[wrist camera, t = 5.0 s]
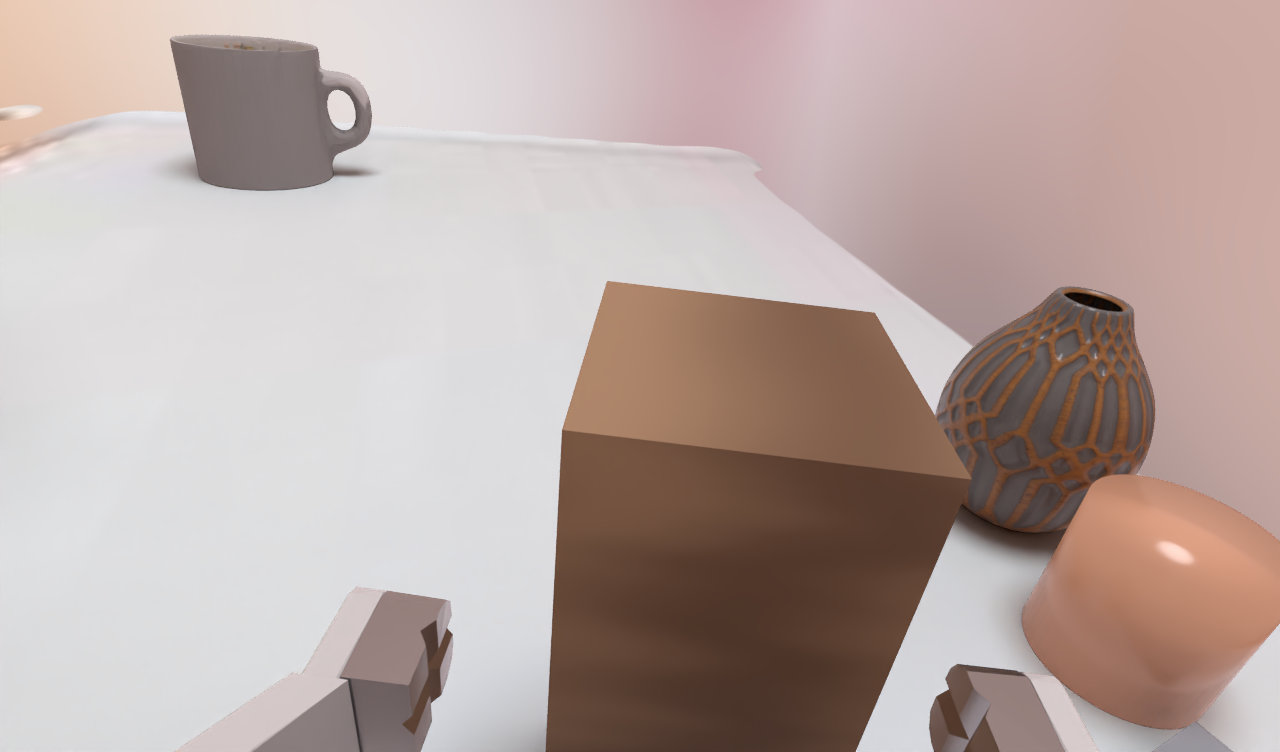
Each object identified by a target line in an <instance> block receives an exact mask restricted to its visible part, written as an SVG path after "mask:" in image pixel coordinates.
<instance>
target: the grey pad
mask: <svg viewBox="0 0 1280 752" xmlns="http://www.w3.org/2000/svg"><path fill="white" fill-rule="evenodd" d="M1153 752H1233V751H1231V750H1230V749H1229V748H1228V747H1227V746H1225V745H1224V744H1223V743H1222V742H1220V741H1219V740H1218V739H1217V738H1215V737H1214V736H1213V735H1212V734H1210V733H1209V732H1208V731H1207V730H1205V729H1204V728H1203V727H1202V726H1200V725H1199V724H1198V723H1197V722H1194V723H1192V724H1191V725H1189V726H1188V727H1187V728H1185V729H1184V730H1182V731H1181V732H1179V733H1178V734H1177V735H1175V736H1174V737H1172V738H1171V739H1170V740H1168V741H1167V742H1165V743H1164V744H1163V745H1161V746H1160V747H1158V748H1157V749H1155V750H1154V751H1153Z"/></svg>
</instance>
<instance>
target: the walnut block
mask: <svg viewBox="0 0 1280 752" xmlns="http://www.w3.org/2000/svg"><path fill="white" fill-rule="evenodd" d="M971 481H972V479H971V477H970V475H969V473H968V472H967V470H966V468H965V467H964V465H963V463H962V461H961V460H960V458H959V456H958V455H957V453H956V451H955V449H954V448H953V446H952V444H951V443H950V441H949V439H948V437H947V436H946V434H945V432H944V431H943V429H942V427H941V425H940V424H939V422H938V420H937V419H936V417H935V415H934V413H933V412H932V410H931V408H930V407H929V405H928V403H927V401H926V400H925V398H924V396H923V395H922V393H921V391H920V389H919V388H918V386H917V384H916V383H915V381H914V379H913V377H912V376H911V374H910V372H909V371H908V369H907V367H906V365H905V364H904V362H903V360H902V359H901V357H900V355H899V353H898V352H897V350H896V348H895V347H894V345H893V343H892V341H891V340H890V338H889V336H888V335H887V333H886V331H885V329H884V328H883V326H882V324H881V323H880V321H879V319H878V317H877V316H876V314H875V313H872V312H863V311H855V310H847V309H838V308H830V307H821V306H813V305H804V304H796V303H788V302H779V301H771V300H762V299H754V298H745V297H737V296H729V295H720V294H712V293H703V292H695V291H687V290H678V289H670V288H661V287H653V286H644V285H636V284H628V283H619V282H611V281H607V284H606V287H605V290H604V293H603V297H602V300H601V303H600V307H599V310H598V313H597V317H596V320H595V323H594V326H593V330H592V333H591V336H590V340H589V343H588V346H587V350H586V353H585V356H584V360H583V363H582V366H581V369H580V373H579V376H578V379H577V383H576V386H575V389H574V393H573V396H572V399H571V402H570V406H569V409H568V412H567V416H566V419H565V422H564V426H563V429H562V443H561V463H560V482H559V502H558V521H557V540H556V560H555V579H554V599H553V618H552V637H551V657H550V676H549V696H548V715H547V734H546V752H856V749H857V747H858V745H859V742H860V740H861V738H862V735H863V733H864V731H865V728H866V726H867V724H868V721H869V719H870V717H871V714H872V712H873V710H874V707H875V705H876V703H877V700H878V698H879V696H880V693H881V691H882V689H883V686H884V684H885V682H886V679H887V677H888V675H889V672H890V670H891V668H892V665H893V663H894V661H895V658H896V656H897V654H898V651H899V649H900V647H901V644H902V642H903V640H904V637H905V635H906V632H907V630H908V628H909V625H910V623H911V621H912V618H913V616H914V614H915V611H916V609H917V607H918V604H919V602H920V600H921V597H922V595H923V593H924V590H925V588H926V586H927V583H928V581H929V579H930V576H931V574H932V572H933V569H934V567H935V565H936V562H937V560H938V558H939V555H940V553H941V551H942V548H943V546H944V544H945V541H946V539H947V537H948V534H949V532H950V530H951V527H952V525H953V523H954V520H955V518H956V516H957V513H958V511H959V509H960V506H961V504H962V502H963V499H964V497H965V495H966V492H967V490H968V488H969V485H970V483H971Z"/></svg>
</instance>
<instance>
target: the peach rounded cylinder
mask: <svg viewBox="0 0 1280 752" xmlns="http://www.w3.org/2000/svg"><path fill="white" fill-rule="evenodd" d="M1279 624H1280V541H1279V540H1278V539H1277V538H1275V537H1274V536H1273V535H1272V534H1271V533H1269V532H1268V531H1267V530H1265V529H1264V528H1262V527H1261V526H1260V525H1259V524H1257V523H1256V522H1254V521H1253V520H1251V519H1249V518H1248V517H1246V516H1245V515H1243V514H1241V513H1240V512H1238V511H1236V510H1235V509H1233V508H1231V507H1229V506H1227V505H1225V504H1223V503H1221V502H1219V501H1217V500H1215V499H1213V498H1211V497H1208V496H1206V495H1204V494H1201V493H1199V492H1197V491H1194V490H1192V489H1189V488H1186V487H1184V486H1180V485H1177V484H1174V483H1171V482H1168V481H1164V480H1160V479H1155V478H1150V477H1146V476H1139V475H1127V474H1122V475H1110V476H1106V477H1102V478H1100V479H1098V480H1096V481H1095V482H1094V483H1093V484H1092V485H1091V487H1090V488H1089V490H1088V492H1087V494H1086V496H1085V497H1084V499H1083V501H1082V503H1081V505H1080V506H1079V508H1078V510H1077V512H1076V514H1075V515H1074V517H1073V519H1072V521H1071V523H1070V525H1069V526H1068V528H1067V530H1066V532H1065V534H1064V535H1063V537H1062V539H1061V541H1060V543H1059V544H1058V546H1057V548H1056V550H1055V552H1054V553H1053V555H1052V557H1051V559H1050V561H1049V562H1048V564H1047V566H1046V568H1045V570H1044V572H1043V573H1042V575H1041V577H1040V579H1039V581H1038V582H1037V584H1036V586H1035V588H1034V590H1033V591H1032V593H1031V595H1030V597H1029V599H1028V600H1027V602H1026V604H1025V606H1024V608H1023V612H1022V626H1023V630H1024V633H1025V636H1026V638H1027V640H1028V642H1029V645H1030V646H1031V648H1032V649H1033V651H1034V653H1035V654H1036V655H1037V657H1038V658H1039V659H1040V661H1041V662H1042V663H1043V664H1044V665H1045V667H1046V668H1047V669H1048V670H1049V671H1050V672H1051V673H1052V674H1053V675H1054V676H1055V677H1056V678H1057V679H1058V680H1059V681H1060V682H1062V683H1063V684H1064V685H1065V686H1067V687H1068V688H1069V689H1070V690H1072V691H1073V692H1074V693H1076V694H1077V695H1079V696H1080V697H1081V698H1083V699H1084V700H1086V701H1088V702H1089V703H1091V704H1092V705H1094V706H1096V707H1098V708H1100V709H1101V710H1103V711H1105V712H1107V713H1109V714H1111V715H1114V716H1116V717H1118V718H1121V719H1123V720H1126V721H1129V722H1132V723H1134V724H1138V725H1142V726H1146V727H1151V728H1157V729H1179V728H1184V727H1187V726H1189V725H1191V724H1192V723H1194V722H1197V721H1198V720H1199V719H1200V718H1201V717H1202V715H1203V714H1204V713H1205V712H1206V711H1207V709H1208V708H1209V707H1210V706H1211V705H1212V703H1213V702H1214V701H1215V700H1216V699H1217V697H1218V696H1219V695H1220V694H1221V693H1222V691H1223V690H1224V689H1225V688H1226V687H1227V686H1228V684H1229V683H1230V682H1231V681H1232V680H1233V678H1234V677H1235V676H1236V675H1237V674H1238V672H1239V671H1240V670H1241V669H1242V668H1243V666H1244V665H1245V664H1246V663H1247V662H1248V660H1249V659H1250V658H1251V657H1252V656H1253V655H1254V653H1255V652H1256V651H1257V650H1258V649H1259V647H1260V646H1261V645H1262V644H1263V643H1264V641H1265V640H1266V639H1267V638H1268V637H1269V635H1270V634H1271V633H1272V632H1273V631H1274V629H1275V628H1276V627H1277V626H1278V625H1279Z"/></svg>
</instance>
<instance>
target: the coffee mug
mask: <svg viewBox="0 0 1280 752" xmlns="http://www.w3.org/2000/svg"><path fill="white" fill-rule="evenodd" d="M170 42H171V48H172V52H173V57H174V61H175V66H176V71H177V75H178V80H179V85H180V89H181V94H182V98H183V103H184V107H185V112H186V117H187V121H188V126H189V130H190V135H191V140H192V144H193V149H194V153H195V158H196V163H197V167H198V172H199V176H200V178H201V179H202V180H203V181H205V182H207V183H210V184H212V185H216V186H221V187H226V188H233V189H241V190H286V189H296V188H303V187H309V186H313V185H317V184H321V183H324V182H326V181H328V180H330V179H331V178H332V176H333V167H332V163H333V159H334V157H335V156H336V155H337V154H338V153H341V152H343V151H346V150H348V149H351V148H353V147H356V146H357V145H359V144H361V143H362V142H363V141H364V140H365V139H366V138H367V136H368V134H369V131H370V128H371V119H372V113H371V105H370V101H369V97H368V94H367V92H366V90H365V88H364V87H363V85H362V84H361V83H360V82H359V81H358V80H357V79H355V78H354V77H352V76H350V75H347V74H344V73H340V72H334V71H327V70H323V69H322V68H320V61H319V53H318V49H317V47H316V46H314V45H311V44H307V43H302V42H296V41H289V40H281V39H271V38H261V37H247V36H230V35H184V36H175V37H172V38H171V39H170ZM334 90H341V91H344V92H345V93H347V94H348V95H349V96H350V98H351V99H352V101H353V103H354V107H355V110H356V120H355V124H354V126H353V127H352V128H351V129H349V130H340V129H338V128H336V127H335V126H334V125H333V123H332V122H331V119H330V117H329V114H328V109H327V100H328V96H329V94H330V93H331V92H332V91H334Z"/></svg>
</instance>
